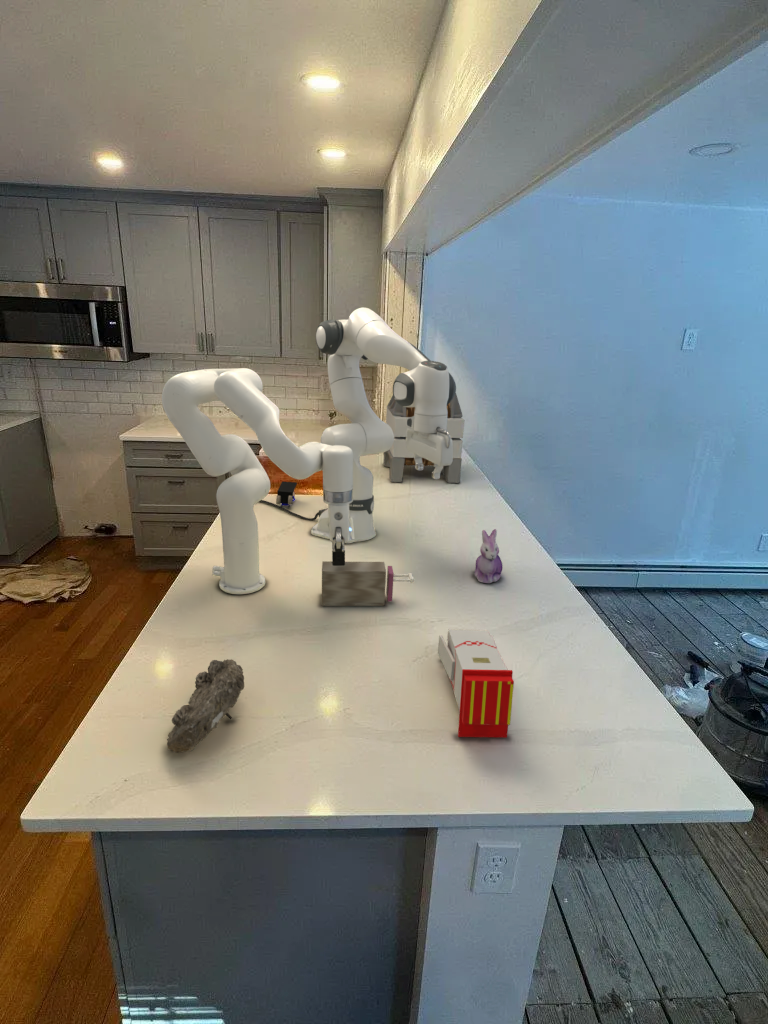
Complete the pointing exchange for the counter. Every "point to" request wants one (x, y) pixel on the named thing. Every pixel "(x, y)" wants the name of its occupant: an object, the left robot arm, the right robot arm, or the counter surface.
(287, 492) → the figurine character
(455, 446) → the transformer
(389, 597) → the drawer
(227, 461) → the left robot arm
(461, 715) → the toy
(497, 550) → the figurine
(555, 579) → the counter surface
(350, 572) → the cabinet
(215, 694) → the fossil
